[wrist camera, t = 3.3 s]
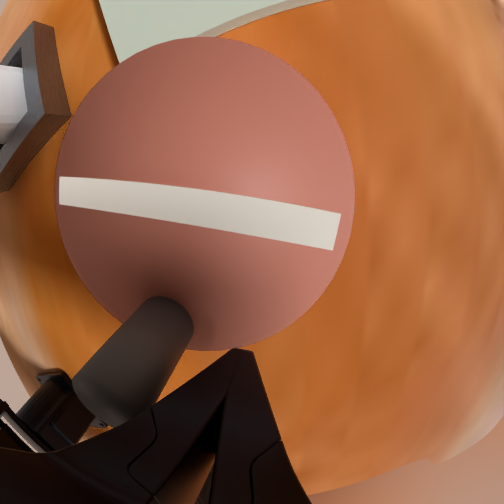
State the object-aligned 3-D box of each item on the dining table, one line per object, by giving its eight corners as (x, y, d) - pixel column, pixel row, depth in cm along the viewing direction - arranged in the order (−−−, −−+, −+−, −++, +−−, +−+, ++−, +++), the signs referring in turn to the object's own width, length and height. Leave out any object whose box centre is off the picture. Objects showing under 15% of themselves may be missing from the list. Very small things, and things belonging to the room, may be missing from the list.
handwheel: (82, 296, 10) (4, 357, 6) (91, 65, 7) (-10, 40, 2) (306, 353, 10) (306, 475, 5) (366, 72, 6) (440, -14, 1)
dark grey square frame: (8, 190, 12) (-13, 196, 10) (-6, 104, 10) (-25, 104, 8) (71, 115, 10) (44, 113, 8) (53, 27, 8) (33, 20, 6)
